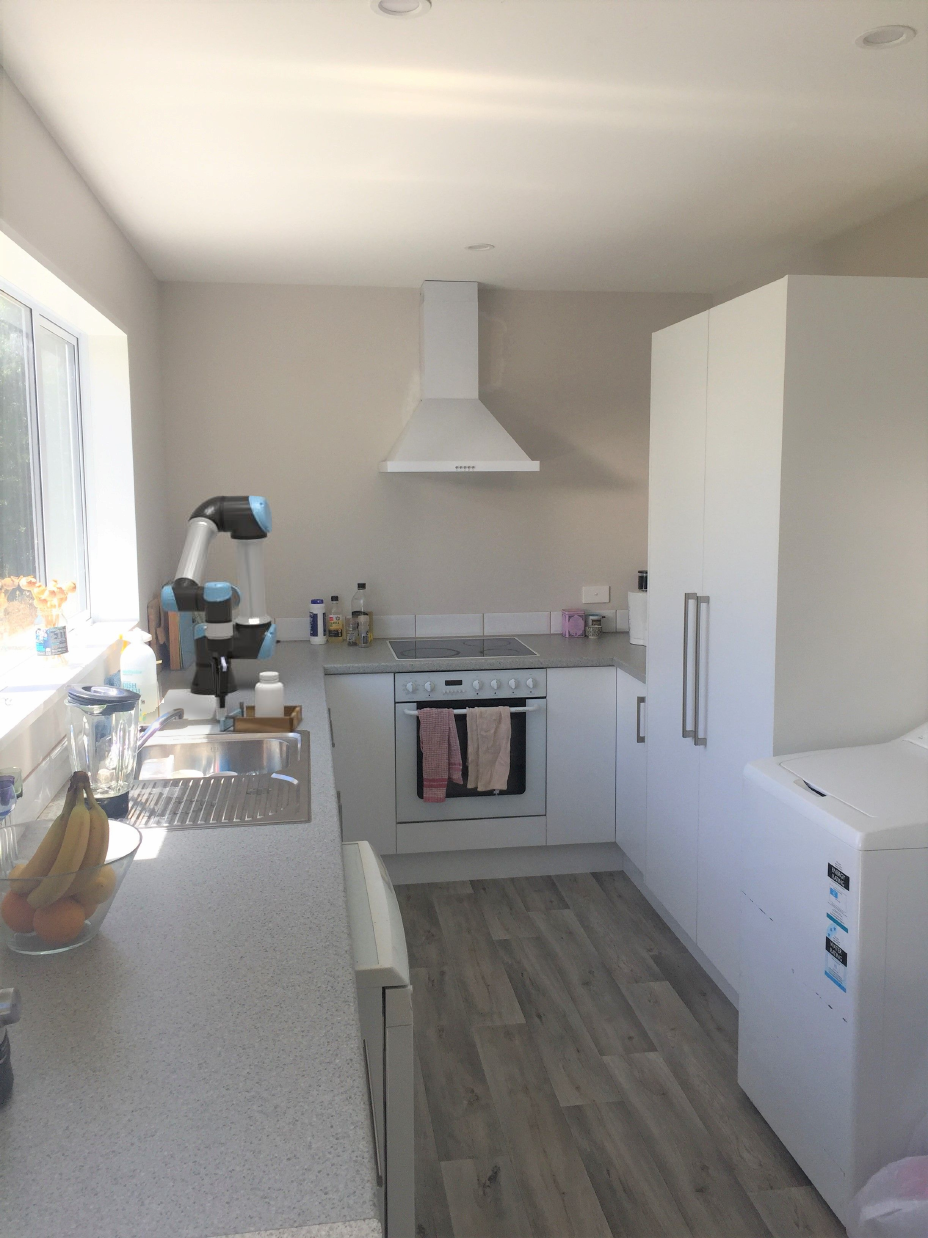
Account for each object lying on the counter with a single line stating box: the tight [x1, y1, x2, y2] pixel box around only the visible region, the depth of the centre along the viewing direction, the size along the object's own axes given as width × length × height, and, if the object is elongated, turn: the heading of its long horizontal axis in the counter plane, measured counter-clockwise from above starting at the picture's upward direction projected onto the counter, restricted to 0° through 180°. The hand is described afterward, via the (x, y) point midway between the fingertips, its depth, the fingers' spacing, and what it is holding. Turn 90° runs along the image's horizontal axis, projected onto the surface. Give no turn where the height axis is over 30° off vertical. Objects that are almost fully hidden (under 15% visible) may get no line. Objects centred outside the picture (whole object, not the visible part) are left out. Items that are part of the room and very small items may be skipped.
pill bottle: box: [254, 671, 285, 717], centre depth 268 cm, size 8×8×15 cm
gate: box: [219, 708, 242, 732], centre depth 268 cm, size 14×1×3 cm, turn 172°
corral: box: [225, 701, 303, 733], centre depth 269 cm, size 16×19×5 cm
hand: (221, 718), depth 273 cm, fingers closed
